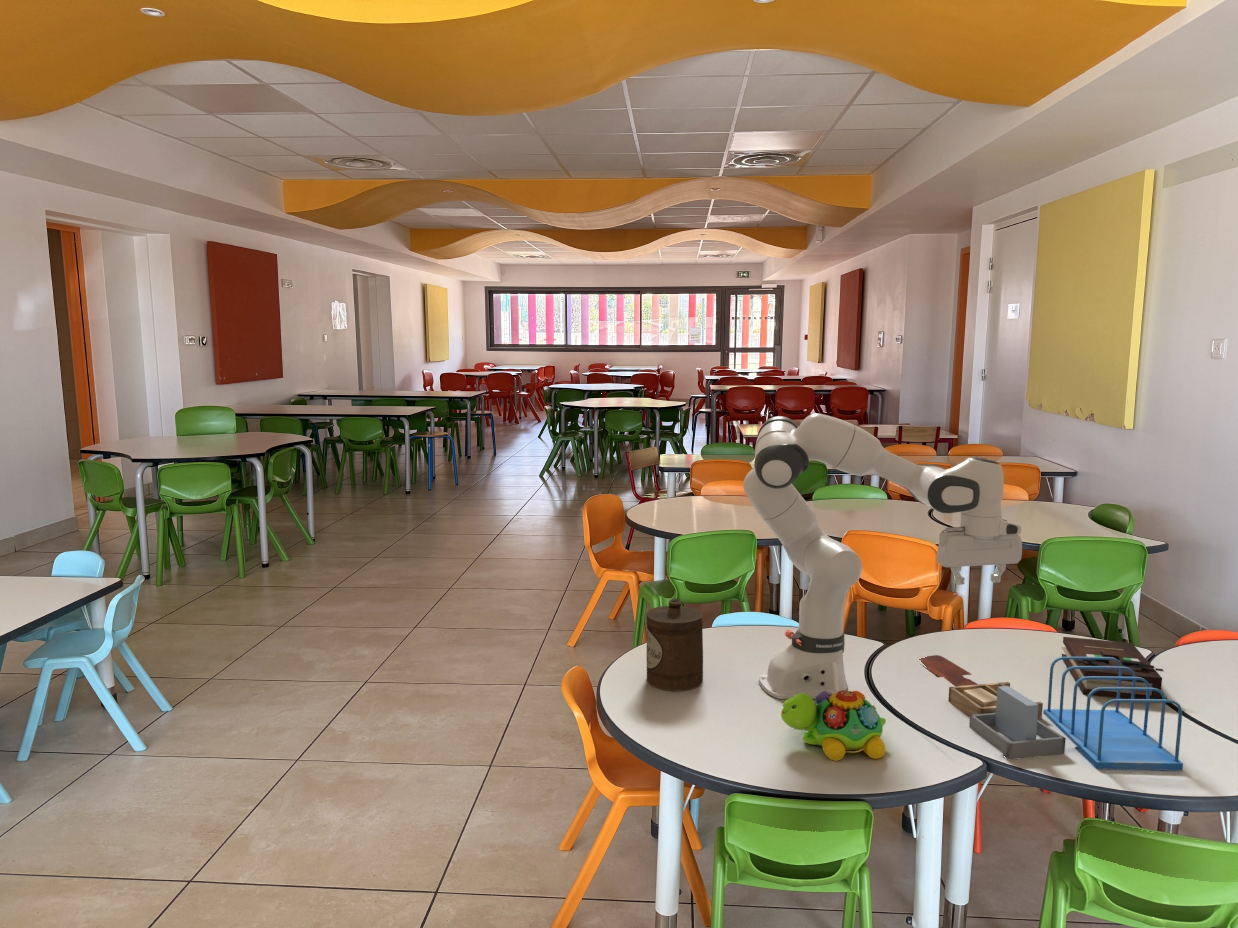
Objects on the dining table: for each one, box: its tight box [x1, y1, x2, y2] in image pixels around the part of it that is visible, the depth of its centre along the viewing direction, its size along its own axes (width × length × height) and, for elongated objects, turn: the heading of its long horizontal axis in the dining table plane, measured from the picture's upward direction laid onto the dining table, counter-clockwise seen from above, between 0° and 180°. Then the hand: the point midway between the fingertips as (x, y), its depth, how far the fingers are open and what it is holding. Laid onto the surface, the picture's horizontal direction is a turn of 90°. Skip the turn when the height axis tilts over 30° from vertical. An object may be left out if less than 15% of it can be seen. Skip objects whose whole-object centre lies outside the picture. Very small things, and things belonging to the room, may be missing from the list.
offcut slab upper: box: [963, 688, 997, 707], centre depth 196 cm, size 5×7×2 cm
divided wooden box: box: [948, 681, 1044, 720], centre depth 197 cm, size 16×13×4 cm
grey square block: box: [994, 686, 1039, 742], centre depth 182 cm, size 3×10×10 cm, turn 11°
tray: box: [968, 713, 1067, 760], centre depth 183 cm, size 13×14×4 cm
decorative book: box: [1061, 636, 1165, 699], centre depth 216 cm, size 19×8×30 cm
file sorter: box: [1042, 656, 1184, 771], centre depth 182 cm, size 25×17×15 cm
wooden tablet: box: [919, 654, 979, 687], centre depth 220 cm, size 27×10×2 cm, turn 8°
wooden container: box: [646, 597, 704, 692], centre depth 216 cm, size 15×15×22 cm
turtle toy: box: [780, 689, 887, 762], centre depth 182 cm, size 17×23×12 cm
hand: (977, 582), depth 196 cm, fingers open, 8 cm apart
